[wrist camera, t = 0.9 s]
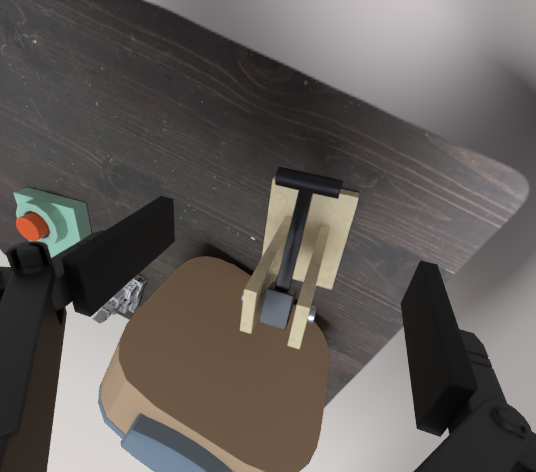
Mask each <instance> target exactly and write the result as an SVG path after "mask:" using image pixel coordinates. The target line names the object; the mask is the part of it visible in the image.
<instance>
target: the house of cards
mask: <svg viewBox="0 0 536 472" xmlns="http://www.w3.org/2000/svg"><path fill="white" fill-rule="evenodd" d="M146 281H147V280H146V279H144V278H143V277H141V276H139V275H137V276H136V277H134V278H133V279H132V280H131V281H130V282H129V283H128V284H127V285H126V286H124V287H123V288H122V289H121V290H120V291H119V292H118V293H117V294H116V295H114V296H113V297H112V298H111V299H110V301H108V302H107V303H106V304H105V305H104V306H103V307H102V308H100V310H99V311H98V312H97V314H96V315H95V316H94V317H93V320H95V321H97V322H98V323H102V322H104V321H105V320H107V318H108V317H109V316H110V315H111V314H113V315H115V314H117V313H118V312H120V311H121V312H122V313H125V312H127V311H128V310H130V311H132V312H135V311H136V310H137V309H138V308H139V307H138V303H139V300H140V297H141V296H142V295H143V294H142V290H143V287H144V285H145V282H146Z"/></svg>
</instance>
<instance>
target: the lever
mask: <svg viewBox="0 0 536 472" xmlns="http://www.w3.org/2000/svg"><path fill="white" fill-rule="evenodd" d="M342 183H343V181H342V180H338V179H334V178H329V177H324V176H320V175H315V174H310V173H306V172H301V171H296V170H292V169H287V168H282V167H279V168H278V170H277V173H276V178H275V185H277V186H282V187H286V188H291V189H295V190H299V191H298V195H297V199H296V203H295V208H294V212H293V216H292V220H291V224H290V228H289V232H288V236H287V240H286V245H285V249H284V253H283V257H282V261H281V265H280V269H279V273H278V277H277V282H276V283H274V282H272V283H271V284H270V285H269V286H268V287H267V289H266V292H265V296H264V301H263V305H262V309H261V313H260V317H259V322H260V323H264V324H267V325H270V326H273V327H276V328H280V329H283V330H286V327H287V325H288V322H289V320H290V316H291V312H292V308H293V304H294V300H295V296H296V292H297V289H295V288H292V287H290V286H291V282H292V278H293V274H294V270H295V266H296V262H297V258H298V254H299V250H300V246H301V242H302V238H303V234H304V230H305V226H306V222H307V218H308V214H309V210H310V206H311V202H312V198H313V194H317V195H322V196H326V197H331V198H335V199H338V198H339V195H340V191H341V187H342Z"/></svg>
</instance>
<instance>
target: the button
mask: <svg viewBox="0 0 536 472" xmlns="http://www.w3.org/2000/svg"><path fill="white" fill-rule="evenodd" d="M16 225H17V228H18V230H19V232H20V233H21V234H22V235H23V236H24V237H25V238H26V239H28V240H30V241H37V240H39V239H41V238H43V237H45V236H47V235H48V234H49V232H50V230H49V227H48V224H47V223H46V222H45V220H44V219H43V218H42V217H41V216H40V215H38V214H37V213H35V212H31V213H28V214H26V215H24V216H21V217H19V218H18V219H17V220H16Z"/></svg>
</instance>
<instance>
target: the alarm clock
mask: <svg viewBox="0 0 536 472" xmlns="http://www.w3.org/2000/svg"><path fill="white" fill-rule="evenodd" d="M250 278H251V276H250V275H249V274H247V273H246V272H244V271H243V270H241V269H240V268H238V267H237V266H235V265H234V264H232V263H231V264H229V263H227V262H226V261H224V260H222V259H219V258H214V257H208V256H204V257H195V258H193V259H191V260H189V261H186V262H185V263H184V264H182V265H181V266H180V267H179V268H177V269H176V270H175V271H174V273H173V274H172V275H171V276H170V277H169V278H168V279H167V280H166V281H165V282H164V283H163V284H162V285H161V286H160V287H159V288H158V289H157V290H156V291H155V293H154V294H153V295H152V296H151V297H150V298H149V299H148V300H147V301H146V302H145V303H144V304H143V305H142V306H141V307H140V308H139V309H138V310H137V312H136V313H135V314H134V315H133V317H132V318H131V319H130V321H129V322H128V323H127V325H126V327H125V330H124V332H123V334H122V336H121V338H120V341H119V343H118V345H117V348H116V350H115V352H114V355H113V357H112V359H111V361H110V364H109V366H108V368H107V371H106V373H105V375H104V378H103V380H102V382H101V385H100V390H99V400H98V404H99V407H100V410H101V413H102V416H103V419H104V422H105V423H106V424H107V425H108V426H109V427H110V428H111V429H112V430H113V431H115V432H116V434H118V435H119V436H120V437H121V438H122V441H121V447H123V448H124V449H125V450H126V451H127V452H129V453H130V454H131V455H132V456H134V457H135V458H136V459H137V460H139V461H140V462H141V463H143V464H144V465H146V466H147V467H148V468H150V469H151V470H153V471H154V472H299V471H300V470H301V469H303V468H304V467H305V466H306V465H307V464H309V462H310V460H311V458H312V456H313V454H314V452H315V450H316V448H317V443H318V440H319V435H320V431H321V424H322V416H323V410H324V403H325V395H326V388H327V381H328V373H329V359H330V356H329V350H328V344H327V342H326V339H325V337H324V335H323V332H322V331H321V330H320V328H319V327H318V326H317V324H316V323H315V322H313V324H309V323H306V327H305V331H304V334H303V338H302V342H301V346H300V349H296V348H293V347H290V346H287V344H288V340H289V336H290V331H291V327H292V323H293V318H294V314H295V310H296V305H294V304H293V308H292V312H291V316H290V320H289V322H288V325H287V327H286V330H283V329H280V328H276V327H273V326H270V325H267V324H264V323H260V322H259V317H260V315H259V317H258V320H257V322H256V324H255V326H254V329H253V331H252V333H251V334H249V333H246V332H243V331H240V323H241V314H242V305H243V303H241V296H242V293H243V290H244V288H245V287H246V285H247V283H248V282H249V280H250Z"/></svg>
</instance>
